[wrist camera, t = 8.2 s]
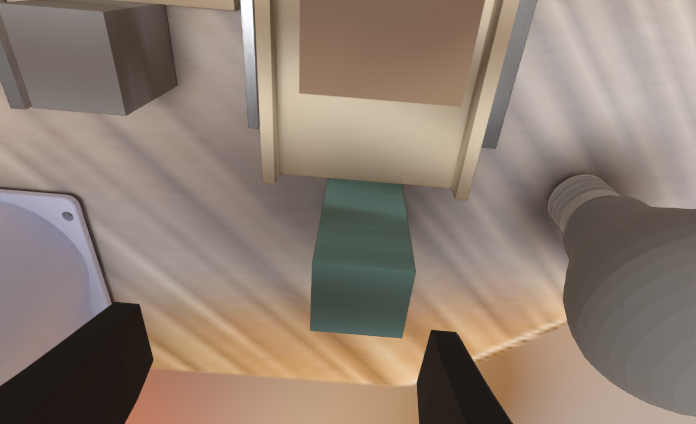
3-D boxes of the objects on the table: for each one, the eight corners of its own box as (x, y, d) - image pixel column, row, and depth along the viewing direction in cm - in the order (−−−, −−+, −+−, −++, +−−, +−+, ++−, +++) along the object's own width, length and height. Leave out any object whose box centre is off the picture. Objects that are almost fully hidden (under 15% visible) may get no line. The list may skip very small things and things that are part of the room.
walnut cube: (437, 72, 15) (461, 106, 11) (316, 62, 15) (299, 93, 11) (463, -76, 12) (507, -98, 9) (321, -88, 12) (300, -116, 9)
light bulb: (497, 155, 17) (627, 336, 9) (649, 115, 16) (975, 278, 7) (512, 260, 20) (620, 475, 11) (642, 233, 19) (870, 449, 10)
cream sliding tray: (446, 237, 19) (478, 344, 14) (272, 223, 19) (233, 324, 14) (537, -139, 12) (683, -235, 7) (260, -162, 12) (168, -278, 7)
